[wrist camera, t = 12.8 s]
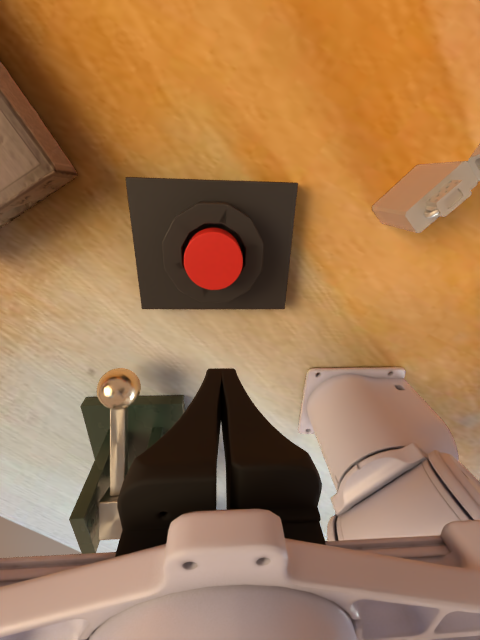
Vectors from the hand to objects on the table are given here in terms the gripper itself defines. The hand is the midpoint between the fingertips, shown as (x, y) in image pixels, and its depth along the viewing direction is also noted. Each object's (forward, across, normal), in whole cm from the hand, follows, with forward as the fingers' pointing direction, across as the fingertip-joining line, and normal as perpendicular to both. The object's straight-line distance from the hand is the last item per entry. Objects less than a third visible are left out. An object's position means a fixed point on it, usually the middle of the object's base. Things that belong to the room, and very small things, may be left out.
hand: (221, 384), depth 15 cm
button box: (+10, 0, -5) cm, 11 cm away
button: (+8, 0, -5) cm, 9 cm away
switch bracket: (+10, +8, +14) cm, 19 cm away
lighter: (+11, -14, -10) cm, 20 cm away
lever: (+6, +8, +11) cm, 15 cm away
